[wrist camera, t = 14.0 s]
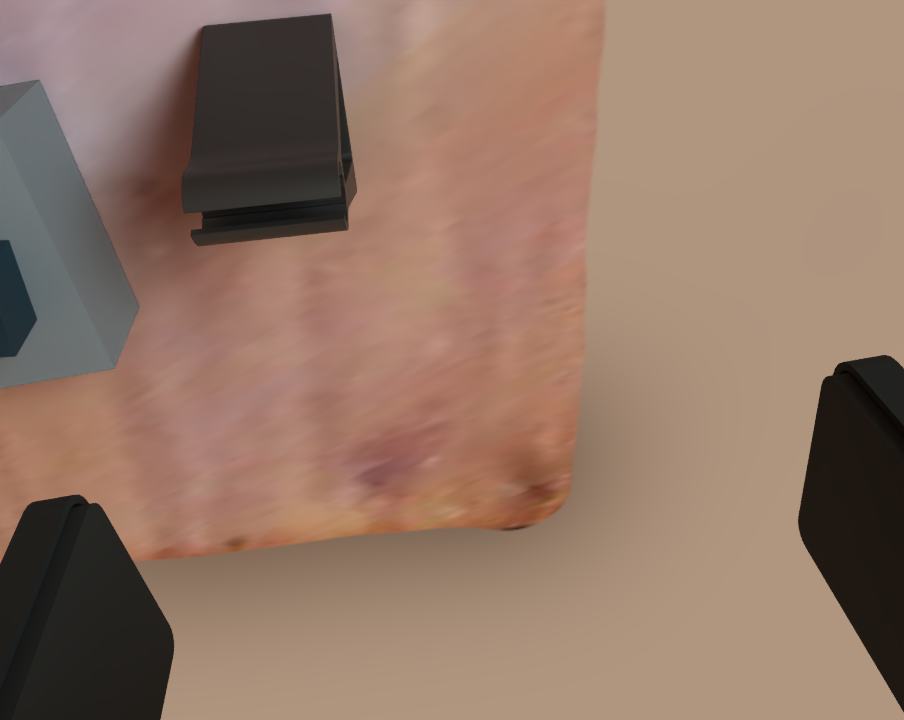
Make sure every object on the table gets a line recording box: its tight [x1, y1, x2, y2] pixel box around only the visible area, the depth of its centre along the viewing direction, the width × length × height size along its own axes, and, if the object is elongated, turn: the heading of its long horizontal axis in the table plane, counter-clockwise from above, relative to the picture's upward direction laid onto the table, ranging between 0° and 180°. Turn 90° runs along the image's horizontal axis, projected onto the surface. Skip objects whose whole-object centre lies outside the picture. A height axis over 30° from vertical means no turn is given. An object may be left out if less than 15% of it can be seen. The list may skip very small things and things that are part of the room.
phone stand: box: [182, 14, 357, 246], centre depth 36 cm, size 9×6×12 cm, turn 4°
